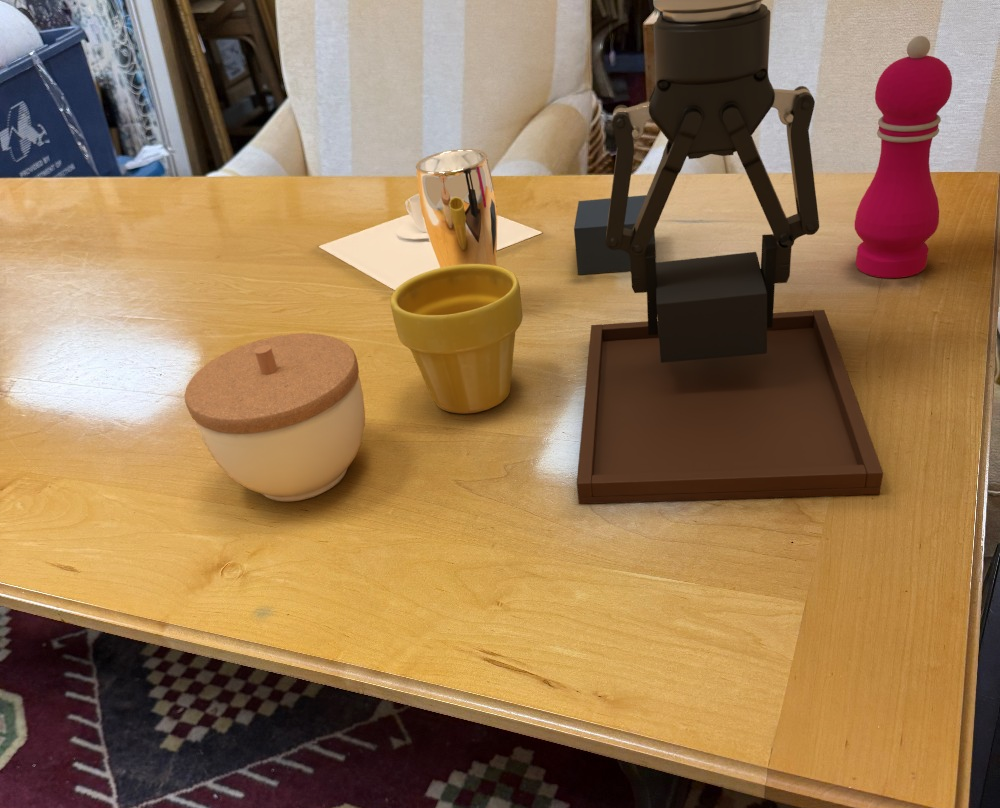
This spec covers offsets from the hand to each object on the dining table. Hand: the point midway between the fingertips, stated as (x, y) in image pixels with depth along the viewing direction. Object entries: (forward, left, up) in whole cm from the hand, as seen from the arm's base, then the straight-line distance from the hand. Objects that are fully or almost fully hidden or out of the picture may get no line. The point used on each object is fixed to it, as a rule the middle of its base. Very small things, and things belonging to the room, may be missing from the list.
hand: (708, 323), depth 73 cm
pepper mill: (-18, -19, -5) cm, 26 cm away
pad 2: (0, 0, -1) cm, 1 cm away
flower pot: (+20, +1, -5) cm, 21 cm away
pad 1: (+8, -26, -4) cm, 27 cm away
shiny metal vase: (+22, -15, -5) cm, 27 cm away
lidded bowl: (+32, +12, -5) cm, 35 cm away
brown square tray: (0, +5, -4) cm, 7 cm away
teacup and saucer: (+31, -36, -5) cm, 47 cm away
